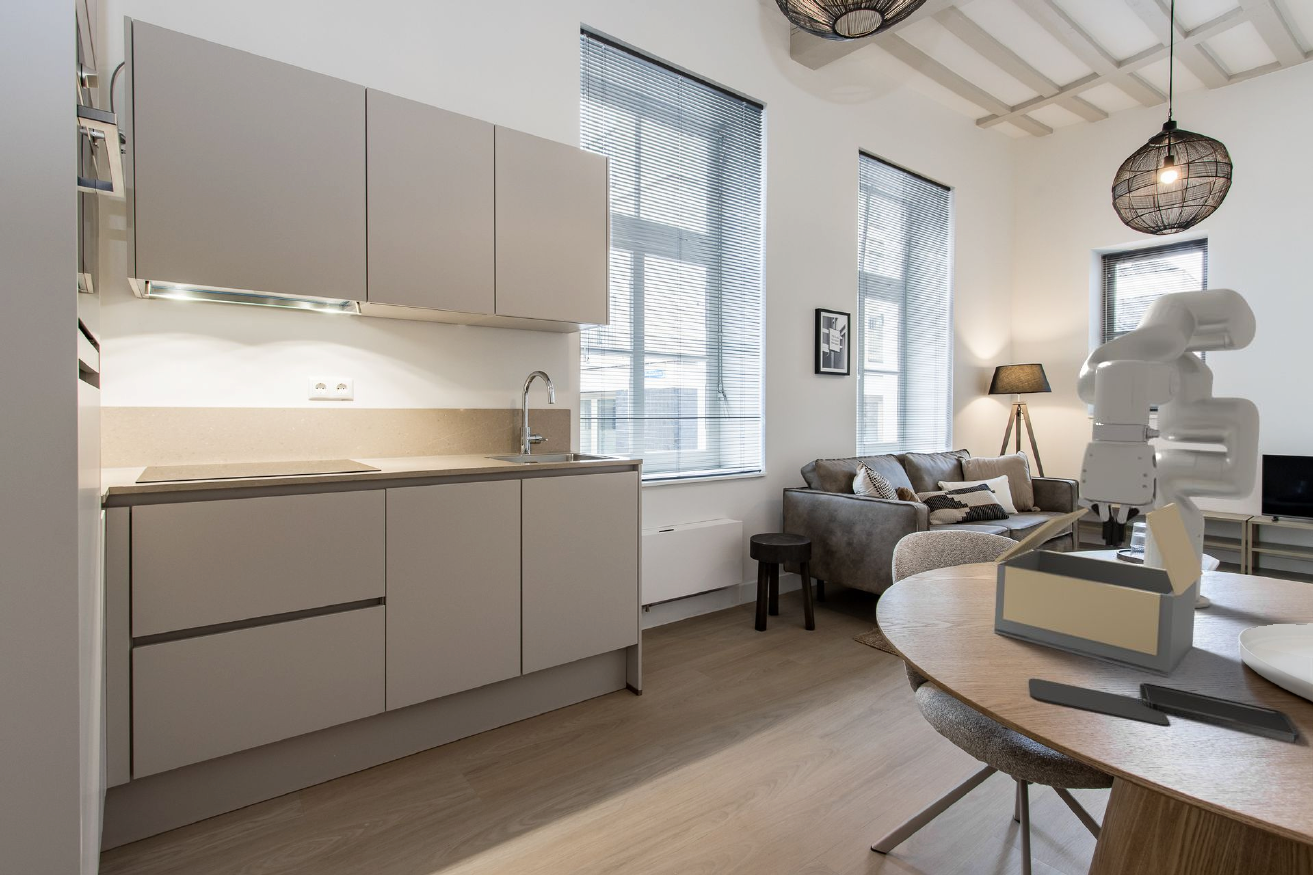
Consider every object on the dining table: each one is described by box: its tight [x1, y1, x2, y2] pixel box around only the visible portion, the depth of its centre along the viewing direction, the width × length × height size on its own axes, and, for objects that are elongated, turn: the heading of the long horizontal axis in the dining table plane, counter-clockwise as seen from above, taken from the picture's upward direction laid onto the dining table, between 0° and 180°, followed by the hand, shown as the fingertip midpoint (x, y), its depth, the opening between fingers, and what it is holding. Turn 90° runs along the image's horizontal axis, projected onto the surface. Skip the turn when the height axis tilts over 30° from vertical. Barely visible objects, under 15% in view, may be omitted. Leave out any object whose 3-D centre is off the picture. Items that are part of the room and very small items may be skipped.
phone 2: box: [1139, 682, 1301, 744], centre depth 83 cm, size 8×1×15 cm
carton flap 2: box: [1144, 503, 1204, 595], centre depth 101 cm, size 20×12×1 cm
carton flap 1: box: [994, 507, 1090, 564], centre depth 115 cm, size 20×12×1 cm
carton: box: [993, 548, 1197, 679], centre depth 109 cm, size 21×24×12 cm
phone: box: [1028, 678, 1170, 727], centre depth 85 cm, size 7×1×15 cm
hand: (1113, 545), depth 107 cm, fingers closed
